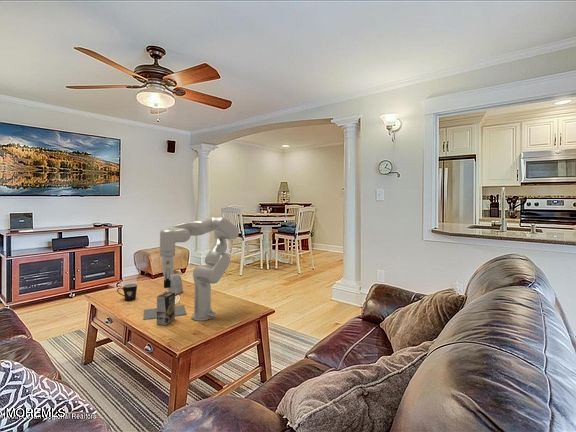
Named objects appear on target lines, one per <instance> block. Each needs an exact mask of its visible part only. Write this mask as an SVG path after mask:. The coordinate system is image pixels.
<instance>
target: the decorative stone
mask: <svg viewBox="0 0 576 432" xmlns="http://www.w3.org/2000/svg"><path fill="white" fill-rule="evenodd" d="M170 280H171V287H170V288H168V291H167V292H173V293H175V294H177V295H180V294H182V293H183V290H184V289H183V281H182V280H183V279H182V276H181V275H180V274H179V273H178V274H177V273H173V275H171V274H170Z"/></svg>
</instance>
